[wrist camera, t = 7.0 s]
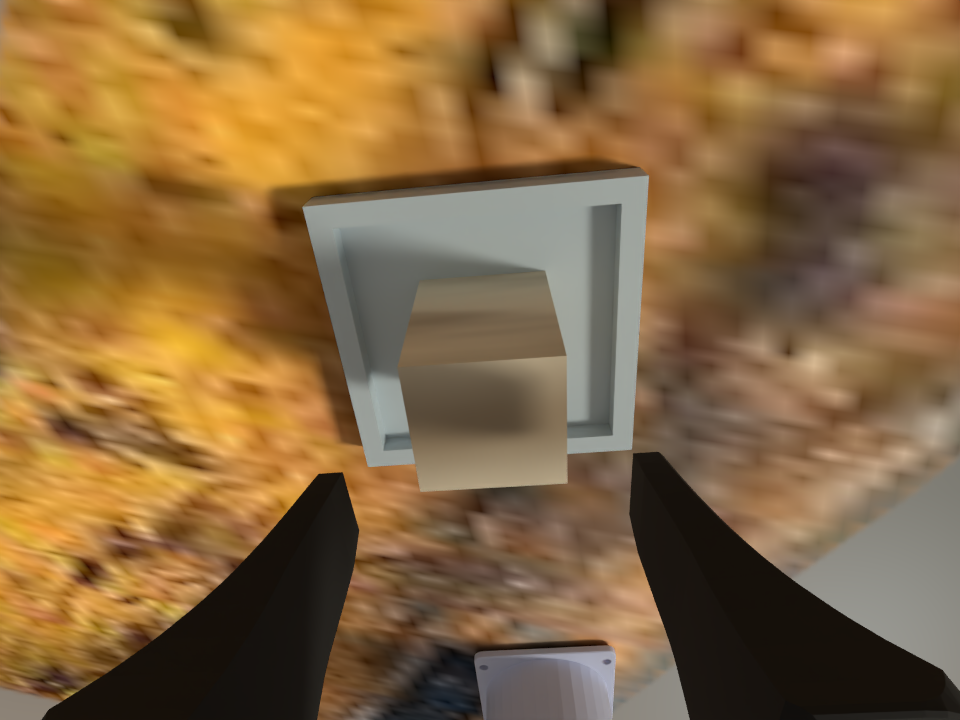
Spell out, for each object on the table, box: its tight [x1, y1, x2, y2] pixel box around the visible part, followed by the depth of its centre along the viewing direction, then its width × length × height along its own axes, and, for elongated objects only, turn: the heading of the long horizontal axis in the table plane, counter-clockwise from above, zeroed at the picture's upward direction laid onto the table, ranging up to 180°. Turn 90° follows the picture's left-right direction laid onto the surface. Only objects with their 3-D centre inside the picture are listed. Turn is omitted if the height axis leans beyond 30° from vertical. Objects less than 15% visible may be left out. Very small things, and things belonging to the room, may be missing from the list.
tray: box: [302, 167, 649, 467], centre depth 21 cm, size 11×11×1 cm
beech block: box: [397, 271, 567, 492], centre depth 18 cm, size 4×4×6 cm
